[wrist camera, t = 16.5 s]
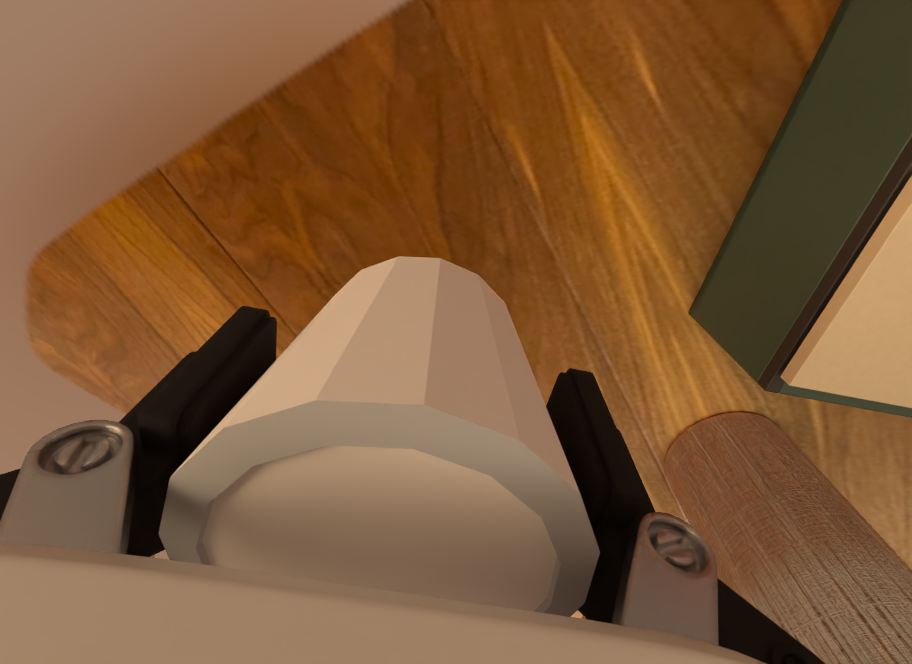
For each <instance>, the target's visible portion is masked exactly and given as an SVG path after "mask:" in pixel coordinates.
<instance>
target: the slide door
mask: <svg viewBox="0 0 912 664" xmlns="http://www.w3.org/2000/svg"><path fill="white" fill-rule="evenodd" d="M780 377H781V378H782V379H783V380H784V381H785V382H786V383H787V384H788V385H790V386H795V387H800V388H806V389H811V390H816V391H822V392H827V393H833V394H838V395H843V396H849V397H854V398H860V399H865V400H870V401H876V402H881V403H886V404H892V405H897V406H903V407H908V408H912V175H911V177H910V179H909V180H908V182H907V183H906V185H905V186H904V188H903V189H902V191H901V192H900V194H899V195H898V197H897V198H896V200H895V202H894V203H893V205H892V206H891V208H890V209H889V211H888V212H887V214H886V215H885V217H884V218H883V220H882V221H881V223H880V225H879V226H878V228H877V229H876V231H875V232H874V234H873V235H872V237H871V238H870V240H869V241H868V243H867V244H866V246H865V247H864V249H863V251H862V252H861V254H860V255H859V257H858V258H857V260H856V261H855V263H854V264H853V266H852V267H851V269H850V270H849V272H848V274H847V275H846V277H845V278H844V280H843V281H842V283H841V284H840V286H839V287H838V289H837V290H836V292H835V293H834V295H833V297H832V298H831V300H830V301H829V303H828V304H827V306H826V307H825V309H824V310H823V312H822V313H821V315H820V316H819V318H818V319H817V321H816V323H815V324H814V326H813V327H812V329H811V330H810V332H809V333H808V335H807V336H806V338H805V339H804V341H803V342H802V344H801V346H800V347H799V349H798V350H797V352H796V353H795V355H794V356H793V358H792V359H791V361H790V362H789V364H788V365H787V367H786V369H785V370H784V372H783V373H782V375H781V376H780Z"/></svg>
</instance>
